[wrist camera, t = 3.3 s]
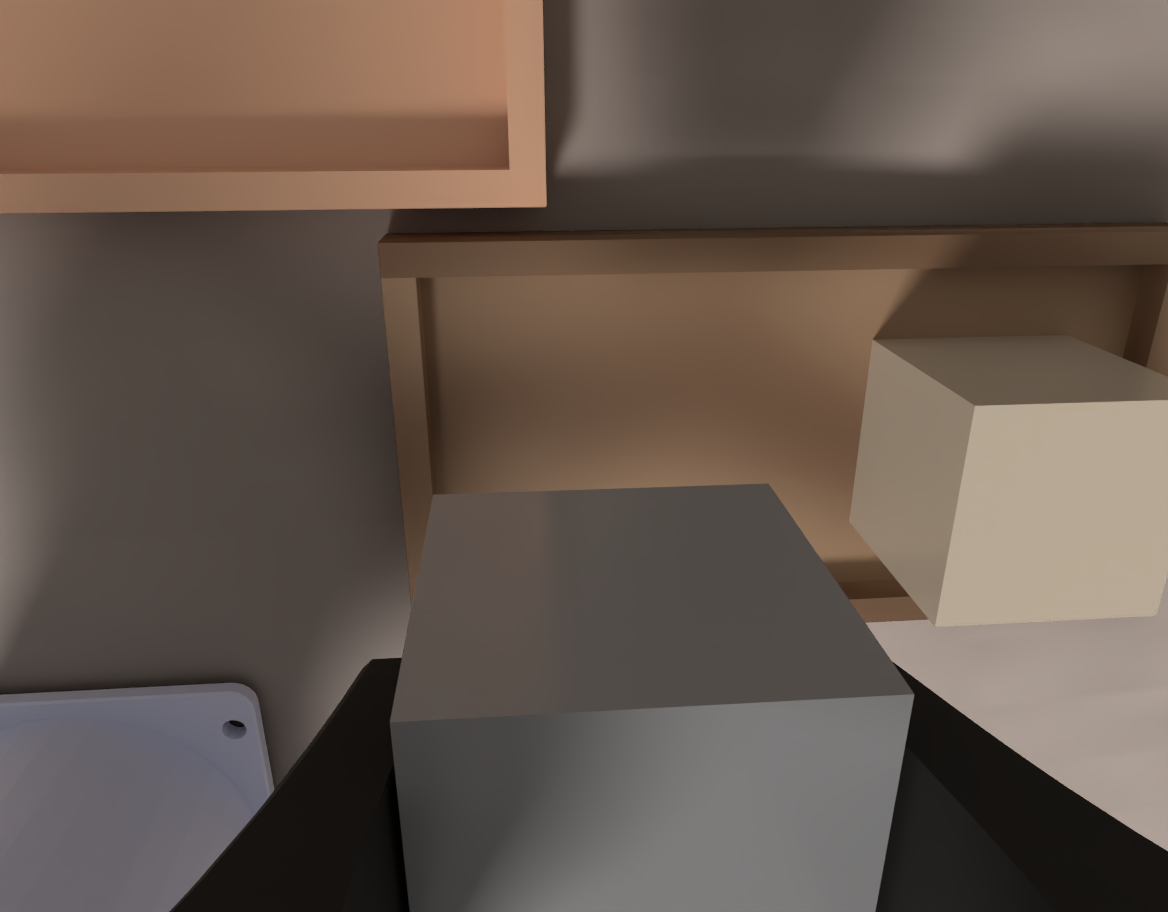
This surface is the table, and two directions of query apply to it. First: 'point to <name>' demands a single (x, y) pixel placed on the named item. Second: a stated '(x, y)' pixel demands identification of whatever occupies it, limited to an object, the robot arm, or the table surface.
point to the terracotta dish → (270, 105)
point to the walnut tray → (719, 354)
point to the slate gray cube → (640, 710)
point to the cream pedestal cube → (1015, 478)
